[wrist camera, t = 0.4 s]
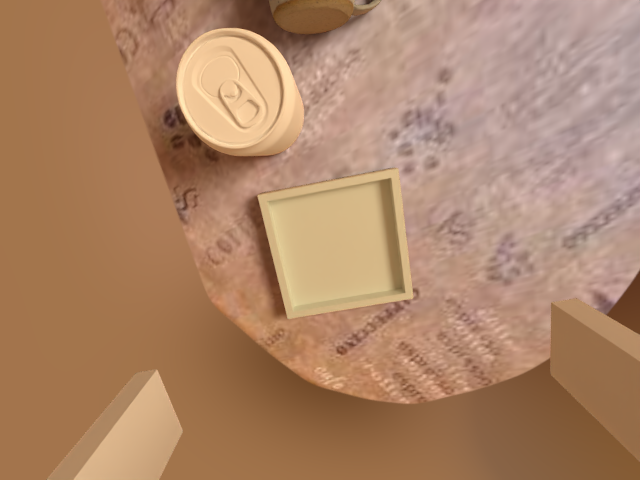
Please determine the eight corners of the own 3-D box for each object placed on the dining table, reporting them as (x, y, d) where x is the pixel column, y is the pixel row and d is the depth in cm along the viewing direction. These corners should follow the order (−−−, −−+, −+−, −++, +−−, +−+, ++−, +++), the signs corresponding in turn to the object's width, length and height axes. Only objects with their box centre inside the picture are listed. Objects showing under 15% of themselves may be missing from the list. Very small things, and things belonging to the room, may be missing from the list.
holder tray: (261, 192, 33) (257, 195, 31) (393, 167, 32) (398, 168, 30) (289, 310, 37) (287, 319, 35) (408, 290, 36) (413, 298, 34)
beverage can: (267, 51, 30) (232, -14, 18) (320, 120, 31) (319, 100, 20) (209, 109, 31) (141, 82, 20) (262, 171, 33) (229, 181, 21)
